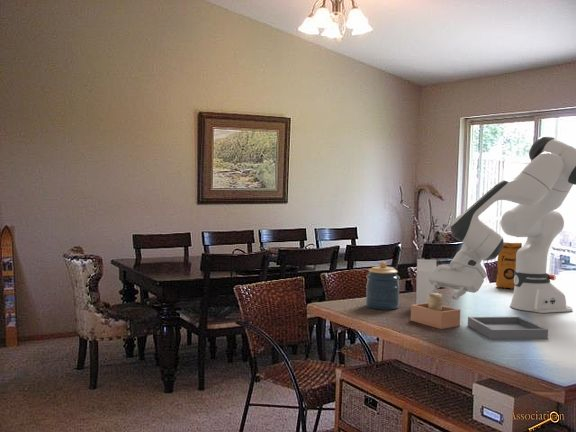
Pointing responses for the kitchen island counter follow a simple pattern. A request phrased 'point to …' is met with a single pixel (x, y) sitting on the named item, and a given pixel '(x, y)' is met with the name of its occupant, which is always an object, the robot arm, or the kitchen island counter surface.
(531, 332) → the charcoal tray
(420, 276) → the milk carton
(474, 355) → the kitchen island counter surface
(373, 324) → the kitchen island counter surface
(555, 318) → the kitchen island counter surface
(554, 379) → the kitchen island counter surface
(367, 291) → the canister
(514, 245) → the coffee package
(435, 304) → the birch peg
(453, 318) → the terracotta planter box
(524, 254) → the robot arm
